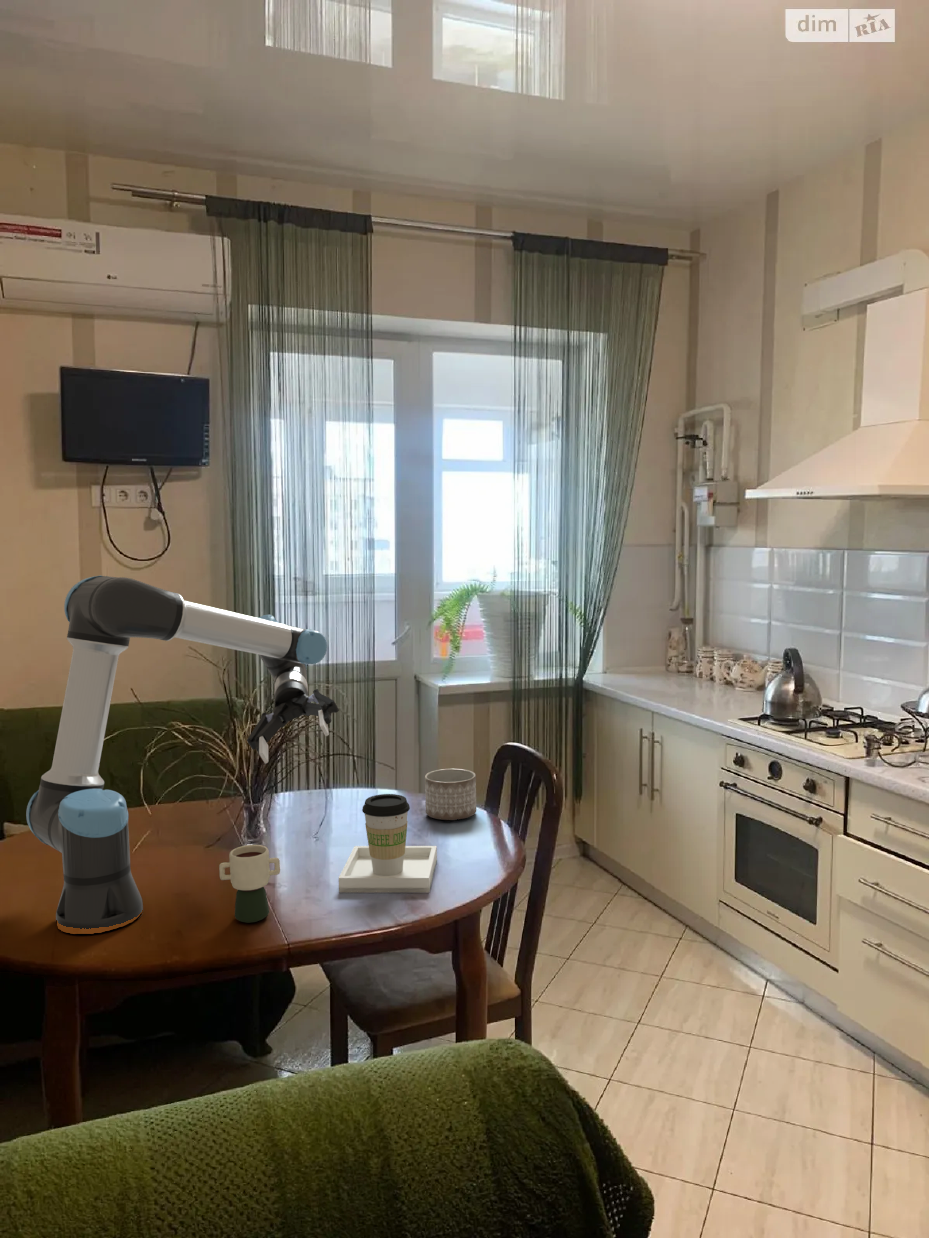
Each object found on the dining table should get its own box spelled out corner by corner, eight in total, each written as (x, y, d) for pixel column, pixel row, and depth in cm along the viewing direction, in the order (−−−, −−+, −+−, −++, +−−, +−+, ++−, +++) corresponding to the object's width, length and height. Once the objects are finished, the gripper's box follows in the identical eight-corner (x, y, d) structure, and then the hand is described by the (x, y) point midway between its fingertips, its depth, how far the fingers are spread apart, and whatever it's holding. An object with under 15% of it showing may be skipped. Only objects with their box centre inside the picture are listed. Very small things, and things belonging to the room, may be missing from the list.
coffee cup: (377, 883, 180) (375, 810, 178) (355, 868, 188) (353, 798, 187) (420, 872, 185) (418, 801, 184) (397, 857, 194) (395, 790, 192)
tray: (429, 892, 177) (428, 877, 177) (339, 892, 178) (338, 877, 178) (437, 859, 195) (436, 845, 195) (355, 859, 196) (354, 846, 196)
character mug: (281, 907, 172) (278, 841, 170) (282, 923, 165) (279, 854, 164) (223, 913, 170) (219, 847, 168) (220, 929, 163) (217, 860, 161)
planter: (415, 816, 225) (414, 775, 224) (452, 804, 234) (451, 765, 233) (449, 827, 216) (448, 785, 215) (486, 815, 225) (486, 774, 224)
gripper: (348, 685, 205) (357, 733, 186) (248, 730, 204) (247, 783, 185) (334, 658, 201) (342, 705, 182) (233, 704, 201) (229, 755, 182)
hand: (294, 744), depth 184 cm, fingers open, 13 cm apart
